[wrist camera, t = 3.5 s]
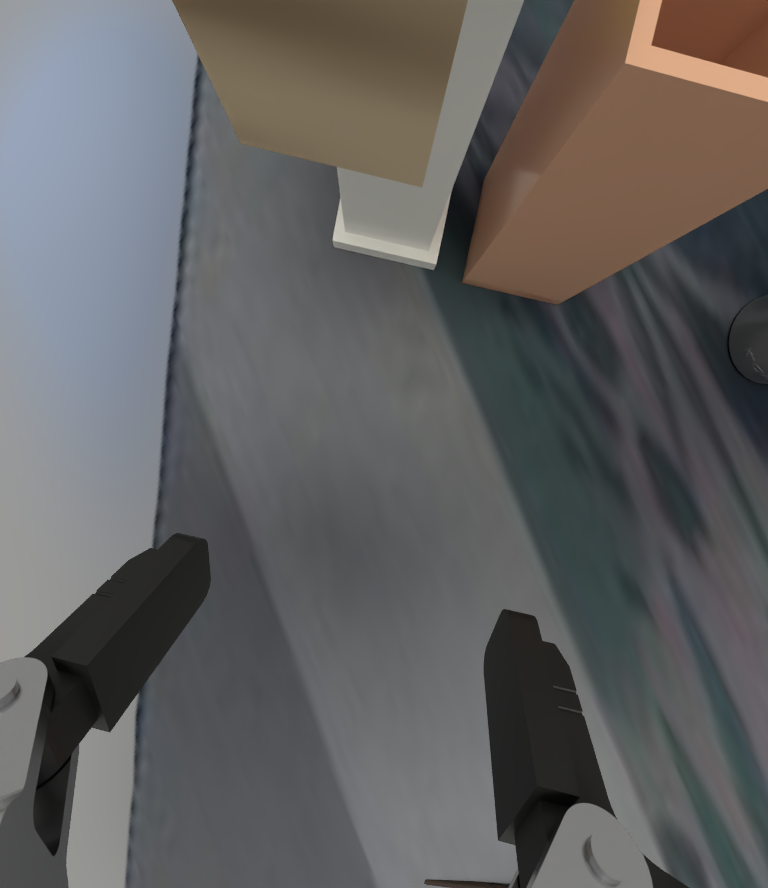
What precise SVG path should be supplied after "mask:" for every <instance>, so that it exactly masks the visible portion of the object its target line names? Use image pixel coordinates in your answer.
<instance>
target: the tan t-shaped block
mask: <svg viewBox="0 0 768 888" xmlns="http://www.w3.org/2000/svg"><path fill="white" fill-rule="evenodd" d="M172 1H173V3H174V5H175V7H176V9H177V11H178V13H179V16H180V17H181V20H182V22H183V24H184V26H185V28H186V30H187V32H188V34H189V36H190V39H191V40H192V43H193V45H194V47H195V49H196V51H197V53H198V55H199V57H200V59H201V62H202V64H203V66H204V68H205V70H206V72H207V74H208V76H209V78H210V80H211V82H212V85H213V87H214V89H215V91H216V93H217V95H218V97H219V99H220V101H221V103H222V105H223V108H224V110H225V112H226V114H227V116H228V118H229V120H230V122H231V124H232V126H233V128H234V131H235V133H236V135H237V137H238V139H239V141H240V143H241V144H245V145H249V146H253V147H257V148H261V149H265V150H270V151H274V152H278V153H282V154H286V155H290V156H294V157H298V158H303V159H307V160H311V161H315V162H319V163H323V164H327V165H331V166H335V167H340V168H344V169H348V170H352V171H356V172H360V173H364V174H368V175H372V176H377V177H381V178H385V179H389V180H393V181H397V182H401V183H405V184H409V185H414V186H418V187H422V186H423V182H424V178H425V174H426V170H427V166H428V162H429V158H430V154H431V149H432V145H433V141H434V137H435V133H436V129H437V125H438V121H439V117H440V113H441V109H442V104H443V100H444V96H445V92H446V88H447V84H448V80H449V76H450V72H451V68H452V64H453V59H454V55H455V51H456V47H457V43H458V39H459V35H460V31H461V27H462V23H463V19H464V14H465V10H466V6H467V2H468V0H172Z"/></svg>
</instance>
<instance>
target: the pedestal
mask: <svg viewBox="0 0 768 888" xmlns="http://www.w3.org/2000/svg"><path fill="white" fill-rule="evenodd" d="M523 2H524V0H468V2H467V6H466V10H465V14H464V19H463V23H462V27H461V31H460V35H459V39H458V43H457V47H456V51H455V55H454V59H453V64H452V68H451V72H450V76H449V80H448V84H447V88H446V92H445V96H444V100H443V104H442V109H441V113H440V117H439V121H438V125H437V129H436V133H435V137H434V141H433V145H432V149H431V154H430V158H429V162H428V166H427V170H426V174H425V178H424V182H423V186H422V187H418V186H414V185H409V184H405V183H401V182H397V181H393V180H389V179H385V178H381V177H377V176H372V175H368V174H364V173H360V172H356V171H352V170H348V169H344V168H340V167H337V173H338V181H339V189H340V196H341V197H340V202H339V208H338V213H337V219H336V224H335V229H334V235H333V240H332V241H333V245H334V247H335V248H339V249H344V250H348V251H352V252H357V253H361V254H365V255H370V256H374V257H379V258H383V259H387V260H392V261H396V262H400V263H405V264H409V265H413V266H418V267H422V268H426V269H431V270H434V268H435V266H436V264H437V259H438V254H439V249H440V245H441V240H442V235H443V230H444V225H445V221H446V216H447V211H448V206H449V201H450V197H451V192H452V188H453V185H454V183H455V180H456V178H457V175H458V172H459V170H460V167H461V164H462V162H463V159H464V157H465V154H466V151H467V149H468V146H469V143H470V141H471V138H472V136H473V133H474V130H475V128H476V125H477V123H478V120H479V117H480V115H481V112H482V109H483V107H484V104H485V102H486V99H487V96H488V94H489V91H490V88H491V86H492V83H493V81H494V78H495V75H496V73H497V70H498V68H499V65H500V62H501V60H502V57H503V54H504V52H505V49H506V47H507V44H508V41H509V39H510V36H511V33H512V31H513V28H514V26H515V23H516V20H517V18H518V15H519V13H520V10H521V7H522V5H523Z"/></svg>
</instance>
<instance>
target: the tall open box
mask: <svg viewBox="0 0 768 888" xmlns="http://www.w3.org/2000/svg"><path fill="white" fill-rule="evenodd" d="M766 189H768V0H574V2H573V4H572V6H571V8H570V10H569V12H568V14H567V16H566V18H565V20H564V22H563V24H562V26H561V28H560V30H559V32H558V34H557V36H556V38H555V40H554V42H553V44H552V46H551V48H550V50H549V52H548V54H547V56H546V58H545V60H544V62H543V64H542V66H541V68H540V70H539V72H538V74H537V75H536V77H535V79H534V81H533V83H532V85H531V87H530V89H529V91H528V93H527V95H526V97H525V99H524V101H523V103H522V105H521V107H520V109H519V111H518V113H517V115H516V117H515V119H514V121H513V123H512V125H511V127H510V129H509V131H508V133H507V135H506V137H505V139H504V141H503V143H502V145H501V147H500V149H499V151H498V153H497V155H496V157H495V159H494V161H493V163H492V165H491V167H490V169H489V171H488V173H487V175H486V177H485V179H484V182H483V187H482V192H481V196H480V201H479V206H478V210H477V215H476V220H475V224H474V229H473V234H472V238H471V243H470V248H469V252H468V257H467V262H466V266H465V271H464V276H463V280H462V283H465V284H469V285H474V286H478V287H482V288H487V289H491V290H495V291H500V292H504V293H508V294H513V295H517V296H522V297H526V298H530V299H535V300H539V301H543V302H548V303H552V304H556V305H558V304H560V303H562V302H563V301H565V300H567V299H569V298H571V297H572V296H574V295H576V294H578V293H580V292H582V291H583V290H585V289H587V288H589V287H591V286H592V285H594V284H596V283H598V282H600V281H601V280H603V279H605V278H607V277H609V276H610V275H612V274H614V273H616V272H618V271H620V270H621V269H623V268H625V267H627V266H629V265H630V264H632V263H634V262H636V261H638V260H639V259H641V258H643V257H645V256H647V255H648V254H650V253H652V252H654V251H656V250H657V249H659V248H661V247H663V246H665V245H667V244H668V243H670V242H672V241H674V240H676V239H677V238H679V237H681V236H683V235H685V234H686V233H688V232H690V231H692V230H694V229H695V228H697V227H699V226H701V225H703V224H705V223H706V222H708V221H710V220H712V219H714V218H715V217H717V216H719V215H721V214H723V213H724V212H726V211H728V210H730V209H732V208H733V207H735V206H737V205H739V204H741V203H743V202H744V201H746V200H748V199H750V198H752V197H753V196H755V195H757V194H759V193H761V192H762V191H764V190H766Z"/></svg>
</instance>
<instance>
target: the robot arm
mask: <svg viewBox="0 0 768 888" xmlns="http://www.w3.org/2000/svg"><path fill="white" fill-rule="evenodd" d="M729 349H730V355H731V358H732V361H733V363H734V365H735V366H736V368H737V369H738V371H739V372H740V373H741V374H742V375H743V376H744V377H746V378H748V379H749V380H751V381H753V382H756V383H759V384H768V295H765V296H762V297H759V298H757V299H755V300H753V301H752V302H750V303H749V304H747V305H746V306H745V307H744V308H743V309H742V310H741V311H740V313H739V314H738V315H737V317H736V319H735V321H734V323H733V325H732V328H731V332H730V335H729ZM210 581H211V576H210V565H209V553H208V543H207V541H206V540H205V539H202V538H198V537H194V536H189V535H185V534H181V533H176V534H174V535H172V536H171V537H170V538H169V539H168V540H167V541H166V542H165V543H164V544H163V545H162V546H161V547H160V548H159V549H158V550H157V549H152V548H150V549H148V550H146V551H144V552H143V553H141V554H139V555H137V556H135V557H134V558H132V559H130V560H128V561H127V562H126V563H125V564H124V565H123V566H122V567H121V568H120V569H119V570H118V571H117V572H116V573H114V574H113V575H112V576H111V579H110V580H107V581H106V582H105V583H104V584H103V585H102V586H101V587H100V588H99V589H98V590H97V592H96V593H95V594H92V595H91V596H90V597H89V598H88V599H87V600H86V601H85V602H84V603H83V604H82V605H81V606H80V607H79V608H78V609H76V610H75V611H74V612H73V613H72V614H71V615H70V616H69V617H68V618H67V619H66V620H65V621H64V622H63V623H62V624H60V625H59V626H58V627H57V628H56V629H55V630H54V631H53V632H52V633H51V634H50V635H49V636H48V637H47V638H46V639H45V640H44V641H43V642H41V643H40V644H39V645H38V646H37V647H36V648H35V649H34V650H33V651H32V652H30V653H29V654H28V655H26V656H25V657H23V658H15V659H11V660H7V661H4V662H1V663H0V888H68V878H67V870H66V855H67V854H66V853H67V845H68V837H69V829H70V821H71V812H72V803H73V796H74V788H75V779H76V772H77V764H78V755H79V743H80V742H81V740H82V739H83V738H84V737H85V735H86V734H87V732H88V731H89V730H90V729H91V727H92V728H96V729H99V730H104V731H107V732H110V731H111V730H112V729H113V727H114V726H115V724H116V723H117V722H118V720H119V719H120V717H121V716H122V715H123V713H124V712H125V710H126V709H127V708H128V706H129V705H130V703H131V702H132V701H133V699H134V698H135V696H136V695H137V694H138V692H139V691H140V689H141V688H142V687H143V685H144V684H145V682H146V681H147V680H148V678H149V677H150V675H151V674H152V673H153V671H154V670H155V668H156V667H157V666H158V664H159V663H160V661H161V660H162V659H163V657H164V656H165V654H166V653H167V652H168V650H169V649H170V647H171V646H172V645H173V643H174V642H175V640H176V639H177V638H178V636H179V635H180V633H181V632H182V631H183V629H184V628H185V626H186V625H187V624H188V622H189V621H190V619H191V618H192V617H193V615H194V614H195V612H196V611H197V610H198V608H199V607H200V605H201V604H202V603H203V601H204V599H205V597H206V595H207V593H208V590H209V587H210ZM484 680H485V692H486V703H487V715H488V727H489V739H490V750H491V762H492V774H493V786H494V797H495V809H496V821H497V833H498V841H502V842H506V843H509V844H513V845H516V853H517V862H518V870H517V871H516V873H515V875H514V877H513V879H512V881H511V883H510V885H509V887H508V888H689V887H687V886H686V885H684V884H683V883H681V882H680V881H678V880H677V879H675V878H674V877H672V876H671V875H669V874H668V873H666V872H665V871H663V870H662V869H660V868H659V867H658V866H656V865H655V864H654V863H652V862H651V861H650V860H649V859H648V858H647V857H646V856H645V855H644V854H643V853H642V852H641V850H640V849H639V847H638V845H637V843H636V842H635V840H634V839H633V837H632V836H631V835H630V833H629V832H628V831H627V829H626V828H625V827H624V826H623V825H622V824H621V823H620V822H619V821H618V820H617V818H616V816H615V814H614V812H613V810H612V807H611V805H610V802H609V799H608V796H607V792H606V789H605V786H604V782H603V779H602V775H601V772H600V769H599V765H598V762H597V759H596V755H595V752H594V748H593V745H592V742H591V738H590V735H589V731H588V728H587V725H586V721H585V718H584V716H582V708H581V704H580V701H579V698H578V695H576V687H575V684H574V681H573V677H572V674H571V671H570V667H569V665H568V664H567V662H566V661H565V659H564V657H563V656H562V654H561V653H560V651H559V650H558V648H557V647H556V645H555V644H553V643H549V642H544V641H542V638H541V634H540V630H539V626H538V622H537V620H536V618H535V617H534V616H532V615H528V614H524V613H519V612H515V611H511V610H506V609H503V610H502V612H501V614H500V616H499V618H498V621H497V623H496V625H495V628H494V630H493V632H492V635H491V637H490V639H489V642H488V644H487V647H486V651H485V656H484Z"/></svg>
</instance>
